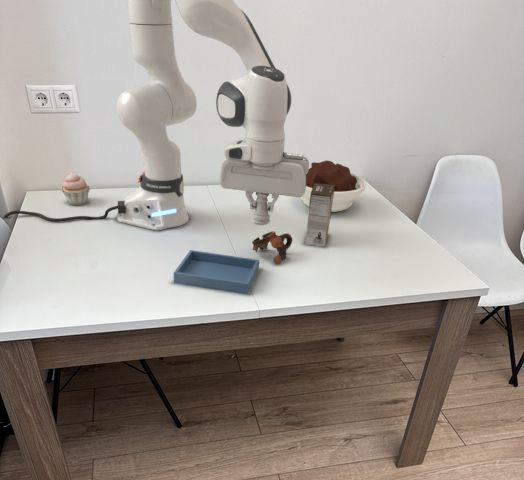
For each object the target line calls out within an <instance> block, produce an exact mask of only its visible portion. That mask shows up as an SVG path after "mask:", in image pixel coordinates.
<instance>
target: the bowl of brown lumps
mask: <svg viewBox="0 0 524 480" xmlns="http://www.w3.org/2000/svg"><path fill="white" fill-rule="evenodd" d="M310 166H311V167H309V171H308V173H307V174H306V190H305V193H304V195H303V196H301V197H300V199H301V202H302V203H303V204H304V205H306V206H307V208H309V204H310V195H311V191H312V188H313V185H314V183H318V184H327V185H335V189H334V195H333V203H332V209H331V213H333V212H334V213H336V212H342V211H345V210H347V209H349V208H350V207H351V206H352V205H353V204H354V201H355V200H357V199H358V198H359V197H360V196H361V195H363V192H364V191H365V189H366V181H365V180H364V179H363V178H362V177H361V176H360V175H357V174H356V173H353V172H351V169H350V168H349V166H345V165H342V164H340V163H336V164H335V163H334V162H333V161H331V160H324V161H320V162H315V161H313V162H311V165H310Z"/></svg>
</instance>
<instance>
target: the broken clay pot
mask: <svg viewBox="0 0 524 480" xmlns="http://www.w3.org/2000/svg"><path fill="white" fill-rule="evenodd" d="M261 237H262V238H260V236H257V237H256V238H255V239H253V240H252V242H251V244H252V250H253V251H255V253H258V251H259V250H260V251H265V250H268V249H269V247H268V245H269V243H270V245H271V247H272V248H273V249H276V250H277V252H278V254H276V255H275V256H274V257H273V261H274V263H275V265H279V264H280V263H282V262H283V261H286V260H287V250H288V249H289V248H290V247H291V245H292V244H293V237H292V235H291V234H290V233H282V234H280V235H278V234H277V233H276V231H269V232H267V233H264V234H263V235H262V236H261ZM285 239H286V242H284V241H285Z"/></svg>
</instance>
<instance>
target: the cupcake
mask: <svg viewBox="0 0 524 480" xmlns="http://www.w3.org/2000/svg"><path fill="white" fill-rule="evenodd" d="M90 187H91V186H90V185H88V183H87V182H86V180H85V178H84V177H82V175H81V176H80V175H78V174H77V173H75V172H74V171H71V172H70V173H69V174H68V175H67V176H66V177H65V179H64V181H63V182H62V186H61V187H60V191H61V192H62V193H63V195H64V197H65V199H66V201H67V203H68V204H69V205H71V206H82V205H85V204H87V203H88V201H89V192H90V190H91V188H90Z"/></svg>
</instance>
